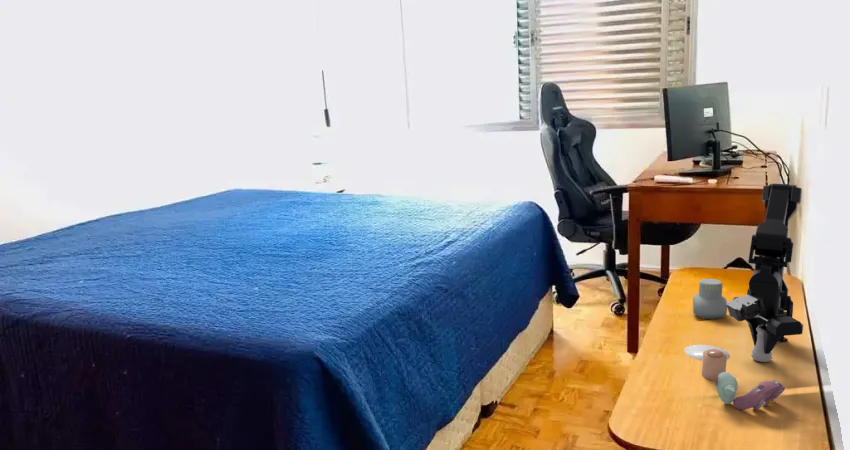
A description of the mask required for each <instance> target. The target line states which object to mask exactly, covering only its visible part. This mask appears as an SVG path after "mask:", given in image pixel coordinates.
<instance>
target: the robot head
mask: <svg viewBox="0 0 850 450" xmlns="http://www.w3.org/2000/svg"><path fill="white" fill-rule="evenodd" d="M715 387H716V393H717V395H718V398H719V399H720V400H721V402H722V403H724V404H725V405H731V404H733V401H734V399H735V398H737V391H738V388H739V386H738V381H737V378H736V377H735V376H734V375H733V374H732V373H730V372H727V371H726V372H723V373H720V374H719V375H718V377H717V378H716V381H715Z"/></svg>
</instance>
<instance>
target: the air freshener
mask: <svg viewBox="0 0 850 450" xmlns="http://www.w3.org/2000/svg"><path fill="white" fill-rule="evenodd" d="M698 283H699V286H698V293H697V294H695V295H693V297H692V313H693V314H694V315H696V316H697V317H699V318H703V319H707V320H717V319H721V318H724V317H726V316H727V312H728V308H727V305H726V303H727V297H725V296H723V282H722V281H720V280H718V279H714V278H702V279H700V280H699V282H698Z"/></svg>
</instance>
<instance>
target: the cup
mask: <svg viewBox="0 0 850 450" xmlns="http://www.w3.org/2000/svg"><path fill="white" fill-rule="evenodd" d="M727 360H728V359H727V355H726V354H725V353H723V352H722V351H720V350H716V349H709V350H707V351H704V352H703V361H702V363H701V364H702V365H701V366H702V367H701V376H702V377H703V378H705V380H706V379H707V380H709V381H715V382H716V378H717V377H718V375H719V374H720V373H723V372H727Z"/></svg>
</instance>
